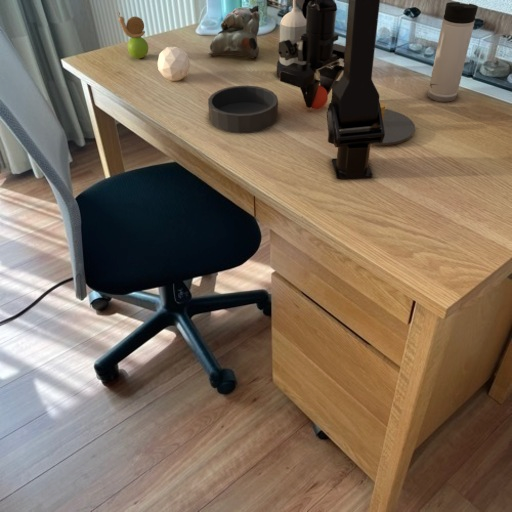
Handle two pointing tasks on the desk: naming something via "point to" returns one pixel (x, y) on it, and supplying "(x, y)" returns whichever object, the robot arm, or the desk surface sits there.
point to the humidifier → (291, 33)
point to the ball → (320, 98)
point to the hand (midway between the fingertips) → (316, 103)
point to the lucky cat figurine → (238, 34)
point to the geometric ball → (173, 63)
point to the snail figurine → (135, 36)
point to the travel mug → (451, 51)
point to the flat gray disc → (393, 127)
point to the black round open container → (243, 109)
